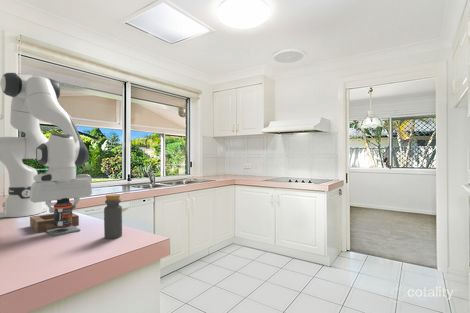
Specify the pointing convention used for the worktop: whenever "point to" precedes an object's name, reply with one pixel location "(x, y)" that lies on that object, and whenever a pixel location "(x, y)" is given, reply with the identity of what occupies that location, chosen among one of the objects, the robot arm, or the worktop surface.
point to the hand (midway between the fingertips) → (63, 210)
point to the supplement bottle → (63, 213)
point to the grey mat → (63, 231)
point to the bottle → (113, 217)
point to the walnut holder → (48, 222)
